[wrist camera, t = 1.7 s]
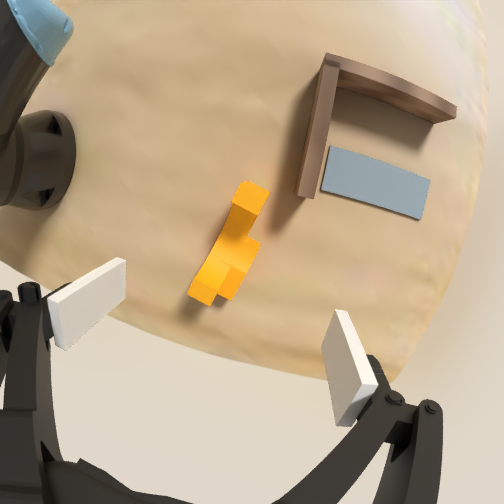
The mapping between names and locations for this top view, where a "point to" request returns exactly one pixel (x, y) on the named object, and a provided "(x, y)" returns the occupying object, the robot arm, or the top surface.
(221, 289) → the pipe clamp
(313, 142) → the brown wooden corner wall
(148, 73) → the top surface
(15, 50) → the robot arm
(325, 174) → the pad
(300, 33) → the top surface
